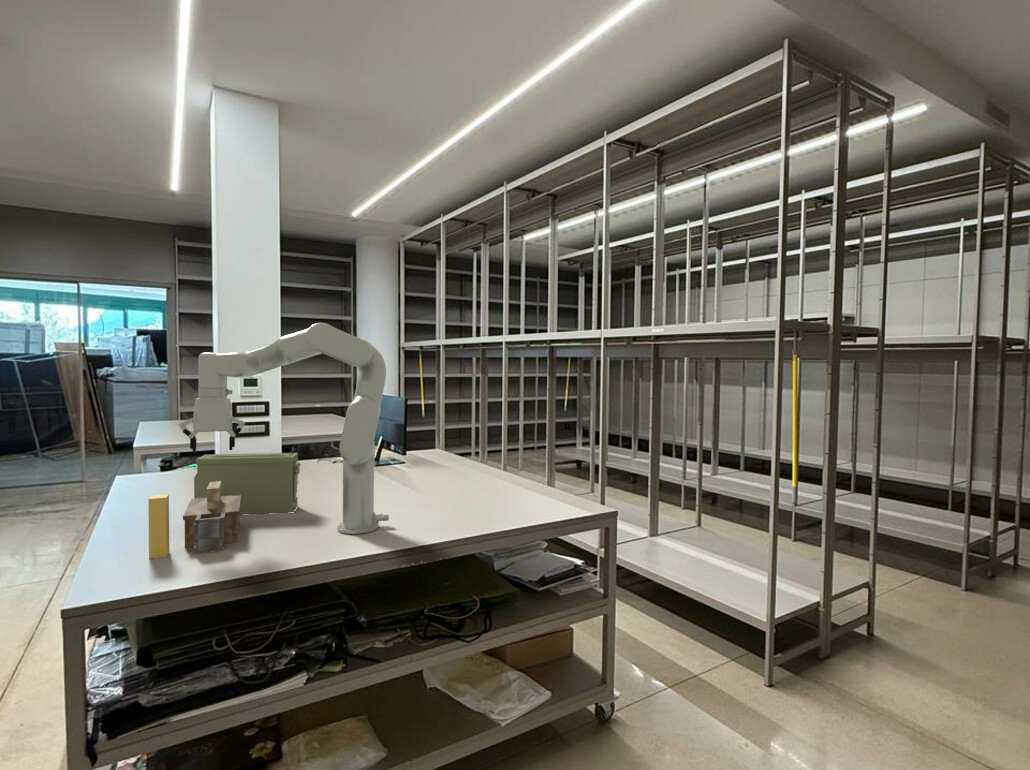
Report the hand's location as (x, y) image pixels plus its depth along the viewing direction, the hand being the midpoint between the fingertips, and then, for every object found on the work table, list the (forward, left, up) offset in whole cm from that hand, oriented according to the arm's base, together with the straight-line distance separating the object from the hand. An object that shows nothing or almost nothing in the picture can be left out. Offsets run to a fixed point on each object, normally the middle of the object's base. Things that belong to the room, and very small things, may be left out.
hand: (212, 450), depth 163 cm
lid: (0, +3, -19) cm, 19 cm away
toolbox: (0, +3, -26) cm, 26 cm away
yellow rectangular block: (+12, +14, -26) cm, 32 cm away
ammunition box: (-9, -25, -26) cm, 37 cm away
